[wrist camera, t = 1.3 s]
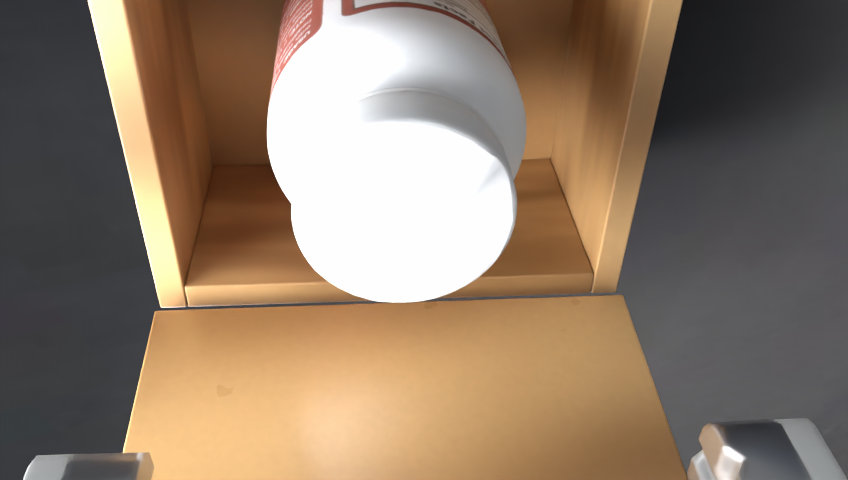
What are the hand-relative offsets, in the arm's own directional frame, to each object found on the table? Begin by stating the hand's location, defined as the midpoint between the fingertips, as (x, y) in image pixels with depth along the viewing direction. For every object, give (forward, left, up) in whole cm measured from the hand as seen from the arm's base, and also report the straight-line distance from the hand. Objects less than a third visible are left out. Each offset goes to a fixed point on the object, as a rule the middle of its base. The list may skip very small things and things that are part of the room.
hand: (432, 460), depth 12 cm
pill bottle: (0, 0, -17) cm, 17 cm away
